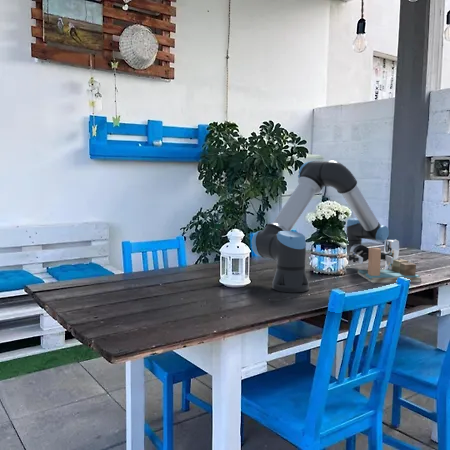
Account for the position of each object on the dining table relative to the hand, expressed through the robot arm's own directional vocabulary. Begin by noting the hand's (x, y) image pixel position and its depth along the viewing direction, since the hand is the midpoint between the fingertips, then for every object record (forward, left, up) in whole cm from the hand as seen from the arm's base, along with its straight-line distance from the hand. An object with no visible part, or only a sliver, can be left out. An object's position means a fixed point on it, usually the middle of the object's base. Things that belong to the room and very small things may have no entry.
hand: (377, 260), depth 207 cm
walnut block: (+15, +3, -7) cm, 17 cm away
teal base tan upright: (+8, +3, -8) cm, 12 cm away
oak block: (+16, +12, -7) cm, 21 cm away
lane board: (+8, +8, -9) cm, 15 cm away
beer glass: (+16, +24, -10) cm, 30 cm away
